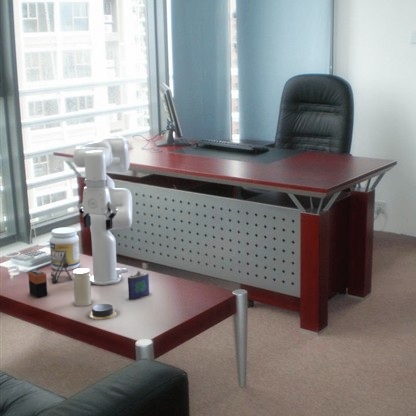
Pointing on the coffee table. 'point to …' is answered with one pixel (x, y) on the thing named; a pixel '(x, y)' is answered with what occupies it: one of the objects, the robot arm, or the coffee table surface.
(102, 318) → the coaster
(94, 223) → the robot arm
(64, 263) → the tablet stand
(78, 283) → the jar
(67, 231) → the supplement tub
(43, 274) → the battery
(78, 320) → the coffee table surface
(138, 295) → the flask
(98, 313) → the lid
